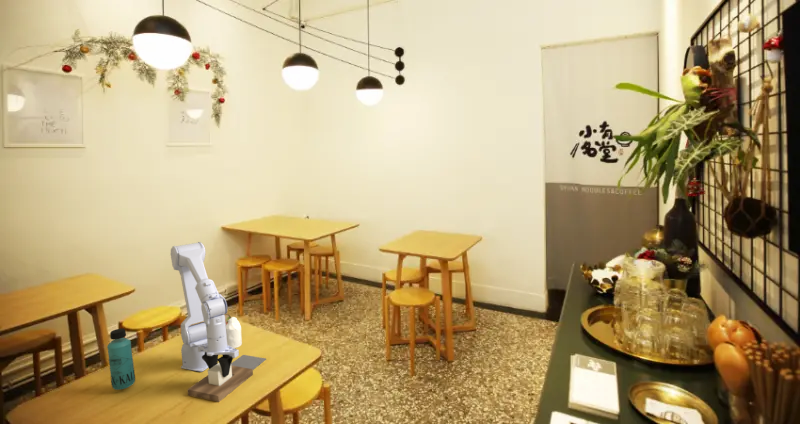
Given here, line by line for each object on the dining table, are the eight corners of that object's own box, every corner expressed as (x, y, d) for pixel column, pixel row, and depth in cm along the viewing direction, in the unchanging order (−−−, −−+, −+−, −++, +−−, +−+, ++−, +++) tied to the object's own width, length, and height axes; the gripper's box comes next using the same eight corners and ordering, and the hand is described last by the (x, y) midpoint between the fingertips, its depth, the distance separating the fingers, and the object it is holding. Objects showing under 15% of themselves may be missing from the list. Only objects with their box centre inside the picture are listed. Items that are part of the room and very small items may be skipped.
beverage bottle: (114, 385, 135) (107, 328, 132) (138, 381, 137) (131, 324, 134) (109, 396, 129) (101, 336, 126) (134, 391, 132) (127, 332, 128)
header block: (187, 395, 129) (187, 389, 129) (224, 369, 144) (223, 364, 144) (219, 401, 125) (218, 395, 125) (252, 374, 140) (252, 369, 140)
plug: (209, 386, 132) (207, 370, 131) (222, 376, 138) (221, 361, 137) (219, 388, 131) (217, 372, 130) (232, 378, 136) (231, 362, 135)
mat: (228, 366, 146) (228, 365, 146) (243, 355, 153) (243, 354, 153) (251, 370, 143) (251, 369, 143) (266, 359, 150) (266, 358, 150)
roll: (233, 312, 164) (243, 314, 161) (235, 340, 166) (245, 343, 163) (220, 318, 158) (231, 320, 156) (223, 347, 160) (233, 350, 158)
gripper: (188, 337, 130) (192, 377, 132) (226, 343, 126) (229, 384, 128) (205, 328, 137) (209, 366, 139) (241, 333, 132) (245, 373, 134)
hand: (220, 374), depth 134 cm, fingers closed on plug, 4 cm apart
